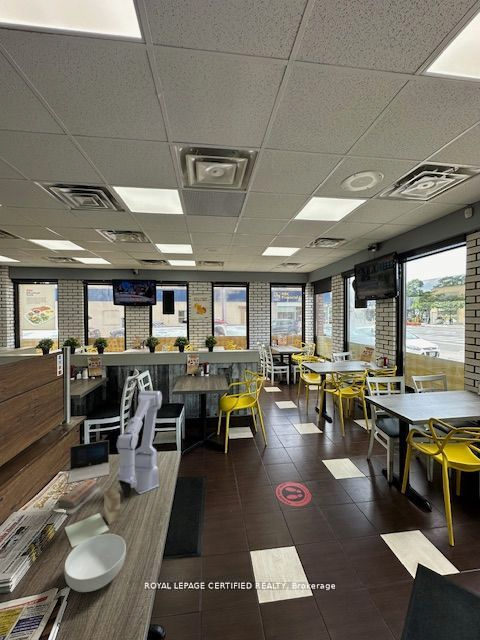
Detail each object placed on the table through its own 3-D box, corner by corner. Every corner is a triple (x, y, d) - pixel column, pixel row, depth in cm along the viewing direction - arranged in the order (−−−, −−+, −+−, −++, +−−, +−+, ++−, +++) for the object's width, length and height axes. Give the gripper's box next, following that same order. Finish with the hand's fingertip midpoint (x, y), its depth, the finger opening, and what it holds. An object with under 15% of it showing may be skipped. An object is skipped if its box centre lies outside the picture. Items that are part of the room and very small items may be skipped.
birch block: (114, 511, 115) (114, 487, 114) (120, 519, 110) (120, 494, 110) (104, 516, 112) (104, 491, 112) (109, 524, 107) (109, 498, 107)
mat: (99, 513, 113) (99, 512, 113) (109, 530, 105) (109, 529, 105) (64, 528, 105) (64, 527, 105) (72, 548, 96) (72, 547, 96)
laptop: (67, 484, 134) (67, 457, 133) (70, 471, 145) (70, 446, 145) (109, 475, 141) (109, 449, 141) (108, 464, 153) (108, 439, 153)
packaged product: (83, 476, 132) (102, 478, 130) (83, 486, 132) (102, 489, 130) (50, 500, 115) (72, 504, 113) (50, 512, 115) (72, 516, 113)
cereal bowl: (122, 595, 80) (122, 570, 80) (55, 612, 75) (55, 586, 75) (128, 548, 96) (128, 528, 96) (73, 560, 92) (73, 538, 92)
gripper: (110, 460, 117) (110, 492, 117) (123, 474, 107) (123, 510, 107) (127, 454, 122) (127, 486, 122) (141, 468, 111) (141, 502, 112)
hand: (126, 497), depth 115 cm, fingers closed
